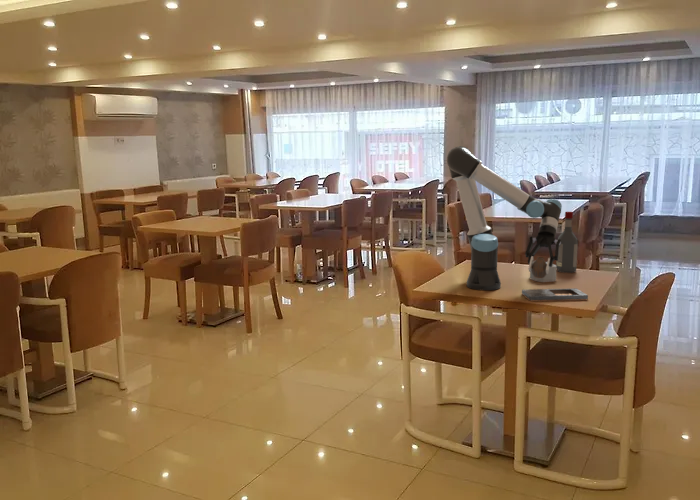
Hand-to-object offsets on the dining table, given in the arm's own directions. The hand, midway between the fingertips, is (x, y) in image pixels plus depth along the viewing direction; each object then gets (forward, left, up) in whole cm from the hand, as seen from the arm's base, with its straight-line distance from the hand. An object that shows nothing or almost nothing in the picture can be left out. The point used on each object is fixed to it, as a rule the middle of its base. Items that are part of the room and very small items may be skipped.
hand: (538, 270), depth 270 cm
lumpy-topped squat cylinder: (+11, +27, -10) cm, 31 cm away
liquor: (+30, +43, -10) cm, 53 cm away
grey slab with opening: (+5, -8, -10) cm, 13 cm away
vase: (+2, +3, -4) cm, 5 cm away
